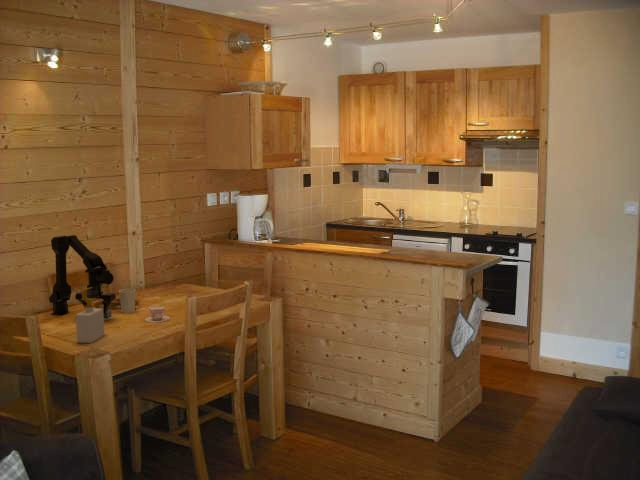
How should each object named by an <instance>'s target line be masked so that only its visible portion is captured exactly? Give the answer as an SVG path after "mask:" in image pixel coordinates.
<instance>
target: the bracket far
mask: <svg viewBox="0 0 640 480" xmlns="http://www.w3.org/2000/svg"><path fill="white" fill-rule="evenodd" d="M111 315H112V310H111V309H108V311H107V313H106V314H105V316H103V317H104V318H109V317H111Z"/></svg>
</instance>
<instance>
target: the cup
mask: <svg viewBox="0 0 640 480" xmlns="http://www.w3.org/2000/svg"><path fill="white" fill-rule="evenodd" d="M118 292H119V301H120V307H121V313H122V314H133V313H135V312H136V308H135V307H136V289H135V288H123V289H119V290H118Z"/></svg>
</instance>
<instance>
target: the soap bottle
mask: <svg viewBox="0 0 640 480" xmlns="http://www.w3.org/2000/svg"><path fill="white" fill-rule="evenodd" d="M90 288H92V287H90ZM90 288H87V287H86V288H85V289H82V290H81V292H82V299H83V300H84V301H86V303H87V305H86V306H85V308H84V310H83V311H81V312H78V313H76V314H75V326H76V341H77V343H80V344H82V343H84V344H91V343H93V342H95V341H97V340H99V339H101V338H103V337H104V336H105V321H104V317H103V309H98V308H99V307H98V308H95V307H94V304H92V303H93V300H95V298H93V299H90V298H87V289H90Z"/></svg>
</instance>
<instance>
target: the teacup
mask: <svg viewBox="0 0 640 480" xmlns="http://www.w3.org/2000/svg"><path fill="white" fill-rule="evenodd" d="M147 309H148V311H149V313H150V314H151V315H150V316H148V317H146V318H145V319H144V321H145V322H147V323H153V324H155V323H164V322H168V321H169V320H171V317H170V316H169V315H166V306H164V305H151V306H148V307H147Z"/></svg>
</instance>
